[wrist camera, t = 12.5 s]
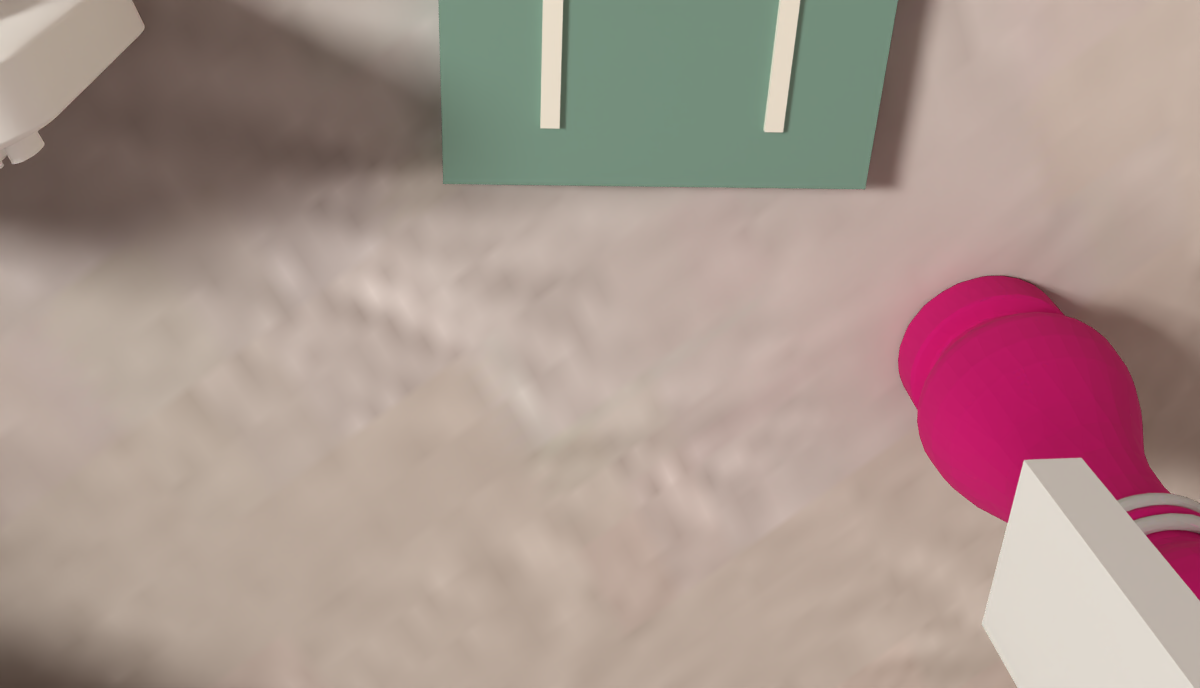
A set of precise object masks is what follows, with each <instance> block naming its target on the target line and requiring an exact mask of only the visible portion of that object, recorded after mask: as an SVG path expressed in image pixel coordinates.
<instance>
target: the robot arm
mask: <svg viewBox="0 0 1200 688" xmlns="http://www.w3.org/2000/svg"><path fill="white" fill-rule="evenodd" d="M982 626H983V627H984V629H985V631H986V633H987V635H988V636H989V638H990V640H991V642H992V643H993V645H994V647H995V649H996V650H997V652H998V654H999V656H1000V657H1001V659H1002V661H1003V663H1004V665H1005V666H1006V668H1007V670H1008V672H1009V673H1010V675H1011V677H1012V679H1013V680H1014V682H1015V684H1016V686H1017V687H1018V688H1200V600H1199V599H1198V598H1197V597H1196V596H1195V594H1194V593H1193V592H1192V591H1191V590H1190V588H1189V587H1188V586H1187V585H1186V584H1185V582H1184V581H1183V580H1182V579H1181V577H1180V576H1179V575H1178V574H1177V573H1176V571H1175V570H1174V569H1173V568H1172V567H1171V565H1170V564H1169V563H1168V562H1167V561H1166V559H1165V558H1164V557H1163V556H1162V554H1161V553H1160V552H1159V551H1158V550H1157V548H1156V547H1155V546H1154V545H1153V544H1152V542H1151V541H1150V540H1149V539H1148V538H1147V536H1146V535H1145V534H1144V533H1143V532H1142V530H1141V529H1140V528H1139V527H1138V525H1137V524H1136V523H1135V522H1134V521H1133V519H1132V518H1131V517H1130V516H1129V515H1128V513H1127V512H1126V511H1125V510H1124V509H1123V507H1122V506H1121V505H1120V504H1119V502H1118V501H1117V500H1116V499H1115V498H1114V496H1113V495H1112V494H1111V493H1110V492H1109V490H1108V489H1107V488H1106V487H1105V486H1104V484H1103V483H1102V482H1101V481H1100V479H1099V478H1098V477H1097V476H1096V475H1095V473H1094V472H1093V471H1092V470H1091V469H1090V467H1089V466H1088V465H1087V464H1086V463H1085V461H1084V460H1083V459H1082V458H1060V459H1033V460H1024V462H1023V465H1022V469H1021V473H1020V477H1019V481H1018V485H1017V489H1016V493H1015V497H1014V501H1013V505H1012V508H1011V512H1010V516H1009V520H1008V524H1007V528H1006V532H1005V536H1004V540H1003V544H1002V548H1001V551H1000V555H999V559H998V563H997V567H996V571H995V575H994V579H993V583H992V587H991V590H990V594H989V598H988V602H987V606H986V610H985V614H984V618H983V622H982Z"/></svg>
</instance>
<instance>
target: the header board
mask: <svg viewBox="0 0 1200 688" xmlns="http://www.w3.org/2000/svg"><path fill="white" fill-rule="evenodd" d="M897 3H898V0H439V36H440V75H441V114H442V153H443V184H491V185H571V186H651V187H731V188H811V189H865V187H866V181H867V175H868V170H869V164H870V158H871V152H872V146H873V141H874V135H875V129H876V123H877V118H878V112H879V106H880V100H881V95H882V89H883V83H884V77H885V72H886V66H887V60H888V54H889V49H890V43H891V37H892V31H893V26H894V20H895V14H896V8H897Z"/></svg>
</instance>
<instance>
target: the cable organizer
mask: <svg viewBox="0 0 1200 688" xmlns="http://www.w3.org/2000/svg"><path fill="white" fill-rule="evenodd" d="M144 29H145V26H144V23H143V21H142V19H141V17H140V15H139V13H138V11H137V9H136V7H135V5H134V3H133V1H132V0H0V169H1V168H2V167H3V166H4V164H3V163H2V160H3V159H4V158H5V157H6V156H8V158H9V159H10V161H11V163H12V164H17V163H21V162H23V161H25V160H27V159H29V158H31V157H32V156H34V155H35V154H37V153H38V152H39V151H40V150H41V149H42V148H43V147H44V145H45V143H44V142H43V140H42V138H41V136H40V135H39V133H38V130H40V129H41V128H43V127H44V126H46V125H47V124H49V123H50V122H51V121H52V120H53V119H55V118H56V117H57V116H58V115H59V114H60V113H61V112H62V111H63V110H64V109H65V108H66V107H67V106H68V105H69V104H70V103H71V102H72V101H73V100H74V99H75V98H76V97H77V96H78V95H79V94H80V93H81V92H82V91H83V90H85V89H86V88H87V87H88V86H89V85H90V84H91V83H92V82H93V81H94V80H95V79H96V78H97V77H98V76H99V75H100V74H101V73H102V72H103V71H104V70H105V69H106V68H107V67H108V66H109V65H110V64H111V63H112V62H113V61H114V60H115V59H116V58H117V57H118V56H119V55H120V54H121V53H122V52H123V51H124V50H125V49H126V48H127V47H128V46H129V45H130V44H131V43H132V42H133V41H134V40H135V39H136V38H137V37H138V36H139V35H140V34H141V33H142V32H143V31H144Z"/></svg>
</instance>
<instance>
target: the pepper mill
mask: <svg viewBox="0 0 1200 688" xmlns="http://www.w3.org/2000/svg"><path fill="white" fill-rule="evenodd" d="M898 365H899V374H900V378H901V380H902V383H903V386H904V387H905V389H906V391H907V393H908V394H909V396H910V398H911V400H912V401H913V403H914V405H915V407H916V408H917V410H918V417H917V423H918V430H919V435H920V439H921V442H922V444H923V447H924V450H925V452H926V454H927V455H928V457H929V458H930V460H931V462H932V463H933V464H934V466H935V467H936V468H937V470H938V471H939V472H940V474H941V475H942V476H943V478H944V479H945V480H946V481H947V482H948V483H949V484H950V485H951V486H952V488H954V489H955V490H956V491H958V492H959V493H960V494H961V495H963V496H964V497H965V498H966V499H968V500H969V501H970V502H972V503H973V504H974V505H976V506H977V507H978V508H980V509H982V510H984V511H986V512H988V513H990V514H992V515H994V516H996V517H998V518H999V519H1001V520H1003V521H1005V522H1007V523H1008V520H1009V516H1010V512H1011V508H1012V505H1013V501H1014V497H1015V493H1016V489H1017V485H1018V481H1019V477H1020V473H1021V469H1022V465H1023V462H1024V460H1033V459H1060V458H1082V459H1083V460H1084V461H1085V463H1086V464H1087V465H1088V466H1089V467H1090V469H1091V470H1092V471H1093V472H1094V473H1095V475H1096V476H1097V477H1098V478H1099V479H1100V481H1101V482H1102V483H1103V484H1104V486H1105V487H1106V488H1107V489H1108V490H1109V492H1110V493H1111V494H1112V495H1113V496H1114V498H1115V499H1116V500H1117V501H1118V502H1119V504H1120V505H1121V506H1122V507H1123V509H1124V510H1125V511H1126V512H1127V513H1128V515H1129V516H1130V517H1131V518H1132V519H1133V521H1134V522H1135V523H1136V524H1137V525H1138V527H1139V528H1140V529H1141V530H1142V532H1143V533H1144V534H1145V535H1146V536H1147V538H1148V539H1149V540H1150V541H1151V542H1152V544H1153V545H1154V546H1155V547H1156V548H1157V550H1158V551H1159V552H1160V553H1161V554H1162V556H1163V557H1164V558H1165V559H1166V561H1167V562H1168V563H1169V564H1170V565H1171V567H1172V568H1173V569H1174V570H1175V571H1176V573H1177V574H1178V575H1179V576H1180V577H1181V579H1182V580H1183V581H1184V582H1185V584H1186V585H1187V586H1188V587H1189V588H1190V590H1191V591H1192V592H1193V593H1194V594H1195V596H1196V597H1197V598H1198V599H1199V600H1200V503H1198V502H1196V501H1194V500H1192V499H1190V498H1187V497H1184V496H1180V495H1175V494H1171V493H1170V492H1169V491H1168V490H1167V489H1166V488H1164V486H1163V485H1162V484H1161V482H1160V481H1159V479H1158V478H1157V477H1156V475H1155V474H1154V472H1153V471H1152V470H1151V468H1150V467H1149V464H1148V462H1147V459H1146V457H1145V454H1144V445H1143V425H1142V415H1141V409H1140V405H1139V401H1138V396H1137V392H1136V389H1135V386H1134V382H1133V380H1132V377H1131V375H1130V373H1129V371H1128V369H1127V367H1126V365H1125V364H1124V362H1123V361H1122V360H1121V358H1120V357H1119V355H1118V354H1117V352H1116V351H1115V350H1114V348H1113V347H1112V346H1111V344H1110V343H1109V342H1108V341H1107V339H1106V338H1104V337H1103V336H1102V335H1101V334H1100V333H1098V332H1097V331H1096V330H1095V329H1093V328H1092V327H1090V326H1088V325H1086V324H1085V323H1083V322H1081V321H1079V320H1077V319H1074V318H1071V317H1067V316H1065V315H1064V314H1063V313H1062V312H1061V311H1060V310H1059V309H1058V307H1057V306H1056V305H1055V304H1054V303H1053V302H1052V301H1051V299H1050V298H1049V297H1048V296H1047V295H1046V294H1045V293H1044V292H1043V291H1041V290H1040V289H1038V288H1037V287H1036V286H1034V285H1033V284H1030V283H1028V282H1026V281H1023V280H1021V279H1018V278H1012V277H1006V276H984V277H979V278H975V279H971V280H968V281H965V282H961V283H958V284H956V285H954V286H952V287H951V288H949V289H947V290H945V291H943V292H942V293H940V294H939V295H937V296H936V297H935V298H933V299H932V300H931V301H929V302H928V303H927V304H926V305H924V306H923V308H922V309H921V310H920V311H919V313H918V314H917V315H916V316H915V317H914V319H913V320H912V321H911V323H910V324H909V326H908V328H907V330H906V332H905V335H904V338H903V340H902V343H901V345H900V350H899V358H898Z"/></svg>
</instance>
